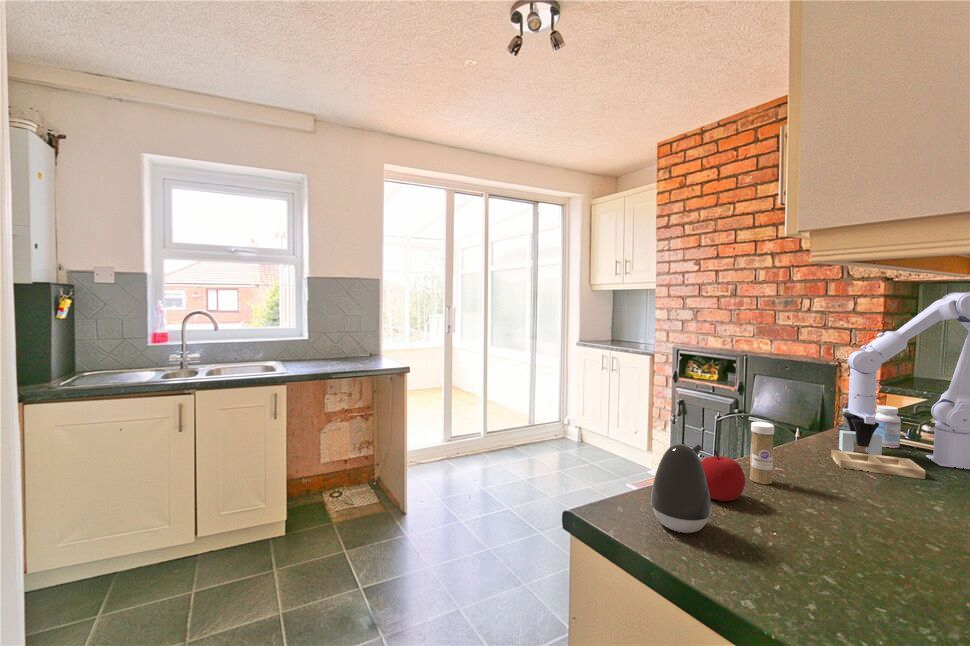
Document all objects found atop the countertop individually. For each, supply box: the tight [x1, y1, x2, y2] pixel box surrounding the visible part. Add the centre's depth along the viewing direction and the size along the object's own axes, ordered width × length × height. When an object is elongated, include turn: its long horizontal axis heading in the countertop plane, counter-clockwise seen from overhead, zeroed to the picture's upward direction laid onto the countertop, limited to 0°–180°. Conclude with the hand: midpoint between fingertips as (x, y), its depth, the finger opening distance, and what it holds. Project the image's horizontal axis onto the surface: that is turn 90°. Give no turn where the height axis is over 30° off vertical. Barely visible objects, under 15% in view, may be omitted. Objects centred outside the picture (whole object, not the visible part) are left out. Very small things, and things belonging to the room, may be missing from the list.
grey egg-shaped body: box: [650, 443, 712, 534], centre depth 83 cm, size 10×10×15 cm
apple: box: [700, 450, 746, 502], centre depth 95 cm, size 9×9×10 cm
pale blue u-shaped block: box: [838, 430, 883, 456], centre depth 124 cm, size 8×3×6 cm, turn 64°
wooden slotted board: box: [830, 449, 926, 480], centre depth 113 cm, size 16×9×2 cm, turn 64°
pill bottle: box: [874, 404, 902, 449], centre depth 131 cm, size 6×6×11 cm
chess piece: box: [836, 403, 851, 440], centre depth 136 cm, size 6×6×12 cm
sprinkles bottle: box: [749, 421, 775, 485], centre depth 104 cm, size 5×5×14 cm
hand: (860, 443), depth 124 cm, fingers open, 4 cm apart
